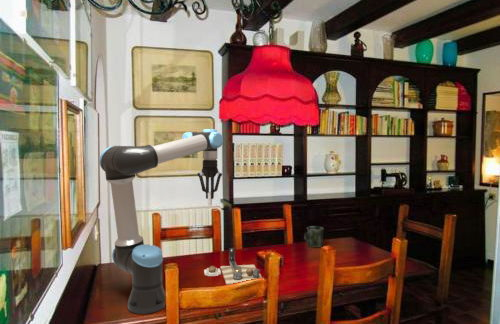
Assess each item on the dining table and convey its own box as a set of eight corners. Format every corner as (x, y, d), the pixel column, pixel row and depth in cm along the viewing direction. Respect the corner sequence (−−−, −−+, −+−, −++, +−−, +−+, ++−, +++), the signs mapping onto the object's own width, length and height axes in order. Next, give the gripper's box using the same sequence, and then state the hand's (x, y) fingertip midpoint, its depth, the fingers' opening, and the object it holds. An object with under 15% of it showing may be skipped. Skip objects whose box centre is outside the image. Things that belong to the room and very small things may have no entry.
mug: (327, 246, 228) (327, 228, 227) (310, 250, 220) (310, 231, 219) (315, 242, 237) (316, 225, 236) (299, 245, 229) (299, 227, 229)
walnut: (255, 272, 170) (253, 266, 171) (249, 274, 168) (246, 267, 170) (253, 275, 172) (250, 268, 174) (246, 277, 170) (244, 270, 172)
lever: (244, 279, 165) (244, 259, 165) (234, 280, 164) (234, 259, 164) (236, 265, 184) (236, 247, 184) (228, 266, 183) (228, 248, 183)
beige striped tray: (264, 283, 164) (264, 273, 164) (226, 286, 161) (226, 275, 161) (253, 267, 187) (253, 258, 187) (220, 269, 183) (220, 259, 183)
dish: (221, 277, 172) (221, 273, 172) (204, 278, 170) (204, 274, 170) (219, 271, 180) (219, 267, 180) (203, 272, 178) (203, 268, 178)
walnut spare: (216, 274, 174) (216, 266, 173) (209, 274, 173) (209, 267, 173) (215, 271, 177) (215, 264, 177) (208, 271, 176) (208, 264, 176)
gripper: (223, 159, 181) (223, 204, 182) (199, 159, 182) (198, 203, 183) (221, 159, 174) (221, 206, 175) (195, 159, 175) (195, 206, 176)
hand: (209, 205), depth 179 cm, fingers closed
